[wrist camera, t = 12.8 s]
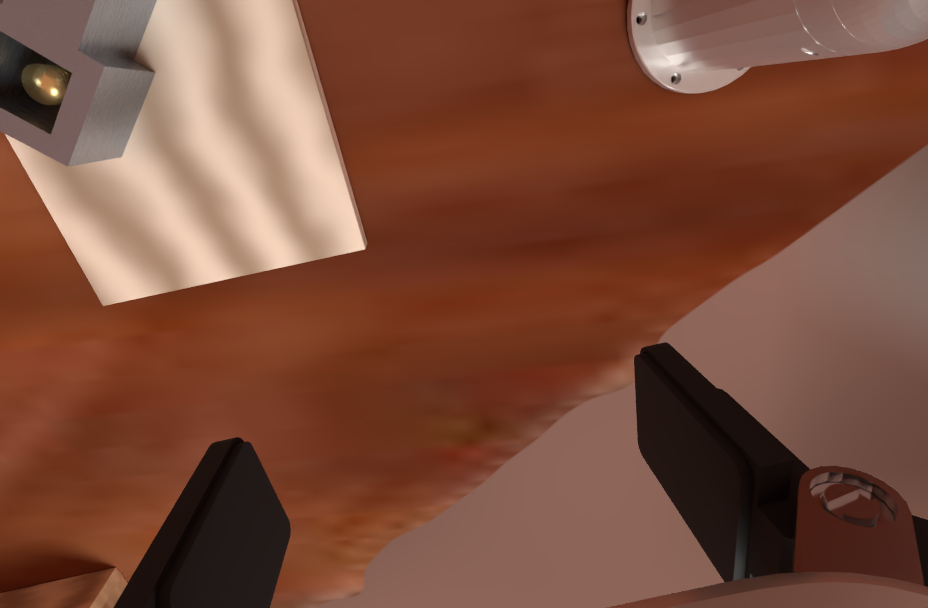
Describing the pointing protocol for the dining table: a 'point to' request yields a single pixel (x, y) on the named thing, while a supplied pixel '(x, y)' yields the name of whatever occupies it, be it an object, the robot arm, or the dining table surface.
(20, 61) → the link
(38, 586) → the box
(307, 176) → the board
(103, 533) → the dining table surface
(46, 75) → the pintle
